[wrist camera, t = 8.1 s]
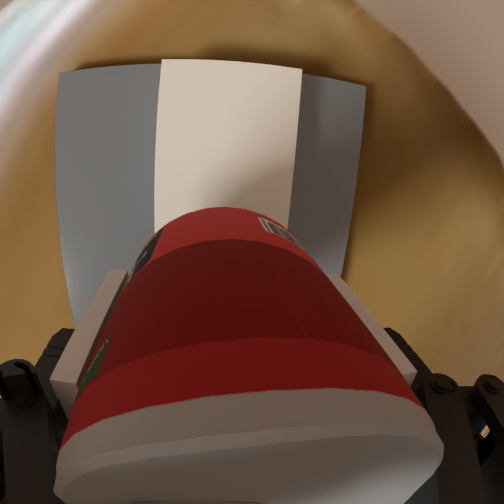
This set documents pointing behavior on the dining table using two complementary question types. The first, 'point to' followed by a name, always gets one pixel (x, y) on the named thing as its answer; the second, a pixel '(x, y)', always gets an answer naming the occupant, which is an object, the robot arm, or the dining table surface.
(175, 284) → the canned food
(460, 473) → the robot arm
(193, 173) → the tile
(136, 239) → the slate board
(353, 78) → the dining table surface
